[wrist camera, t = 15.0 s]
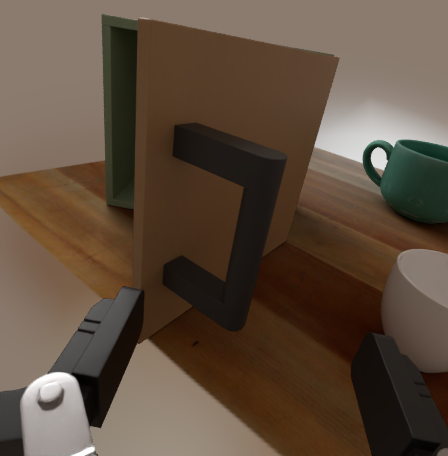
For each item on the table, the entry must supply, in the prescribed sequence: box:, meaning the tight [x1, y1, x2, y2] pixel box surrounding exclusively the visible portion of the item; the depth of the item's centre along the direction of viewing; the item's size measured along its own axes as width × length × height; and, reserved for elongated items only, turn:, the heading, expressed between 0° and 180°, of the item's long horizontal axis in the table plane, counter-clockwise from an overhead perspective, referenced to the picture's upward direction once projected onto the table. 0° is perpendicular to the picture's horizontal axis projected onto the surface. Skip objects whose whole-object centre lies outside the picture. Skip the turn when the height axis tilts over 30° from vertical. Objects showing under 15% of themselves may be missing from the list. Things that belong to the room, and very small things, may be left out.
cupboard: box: [102, 14, 334, 209], centre depth 39 cm, size 13×21×19 cm, turn 84°
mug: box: [363, 140, 448, 224], centre depth 49 cm, size 17×13×10 cm
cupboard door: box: [132, 17, 339, 344], centre depth 23 cm, size 7×21×18 cm, turn 142°
